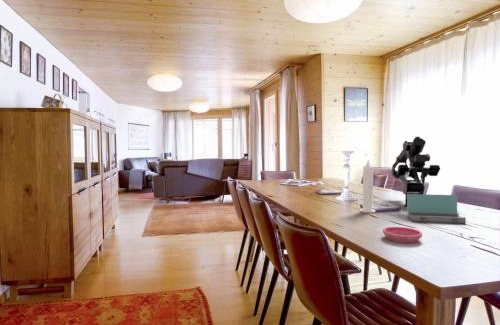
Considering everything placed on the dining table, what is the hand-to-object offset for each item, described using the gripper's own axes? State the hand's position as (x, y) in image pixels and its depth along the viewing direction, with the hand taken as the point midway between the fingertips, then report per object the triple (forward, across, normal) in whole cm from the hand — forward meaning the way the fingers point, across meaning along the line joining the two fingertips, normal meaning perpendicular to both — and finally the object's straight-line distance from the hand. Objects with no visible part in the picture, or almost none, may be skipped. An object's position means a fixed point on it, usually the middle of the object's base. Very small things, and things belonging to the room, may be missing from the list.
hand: (421, 183), depth 161 cm
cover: (+16, 0, -5) cm, 17 cm away
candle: (+13, -25, +7) cm, 29 cm away
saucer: (+46, -21, -26) cm, 57 cm away
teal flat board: (+24, 0, -4) cm, 24 cm away
